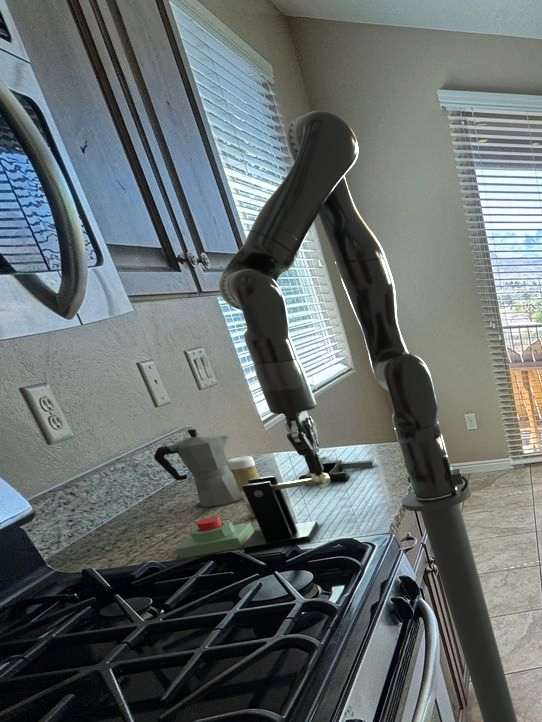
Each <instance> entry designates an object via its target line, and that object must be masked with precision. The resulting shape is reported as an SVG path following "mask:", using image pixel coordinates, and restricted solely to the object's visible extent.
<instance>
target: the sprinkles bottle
mask: <svg viewBox="0 0 542 722" xmlns="http://www.w3.org/2000/svg"><path fill="white" fill-rule="evenodd" d="M226 462H227V468H228V470H230V472H231V473H232V477H233V478H234V480H235V481H236V484H237V486H238V488H239V491H240V493H241V495H242V497H243V498H242V499H243V502H244V504H245V505H246V507H247V510H248V512H249V516H250V517H251V518H255V515H254V513H253V511H252V508H251V506H250V504H249V502H248V499H247V497H246V495H245V493H244V490H243V488H242V486H243V485H248V484H249V482H248V480H249V479H254V478H261V477H260V474H259V472H258V470H257V467H256V463H255V461H254V458H253V457H252V456H250V455H243V456H237V457H233V458H230V459H227V460H226ZM255 519H256V518H255Z"/></svg>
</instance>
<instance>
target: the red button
mask: <svg viewBox="0 0 542 722" xmlns="http://www.w3.org/2000/svg"><path fill="white" fill-rule="evenodd" d="M221 521H222V520H221V519H220V517H217V516H213V517H207V518H203V519H201V520H198V521H197V522H196V523H195V524H196V527H198V528H199V530H200V531H208V530H213V529H216V528H219V527H221V526H222V523H221Z"/></svg>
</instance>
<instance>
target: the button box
mask: <svg viewBox="0 0 542 722" xmlns="http://www.w3.org/2000/svg"><path fill="white" fill-rule="evenodd" d="M220 521H221V523H222V526H221V527H219V528H216V529H213V530H208V531H200V530H199V528H198V526H195V527H193V528H191V530H189V535H188V536H186V537H185V539H184V540H183V541H182V542H181V543H179V545H178V546H176V547H175V551H176V553H177V555H178V557H179V559H180V560H181V559H188V558H193V557H198V556H204V555H208V554H215V553H220V552H226V551H231V550H236V549H243V547H244V546H245V545H246V543H247V542H248V541H249V539H250V538H251V537H252V535H253V534H254V533H255V530H254V527H253V525H252V523H251V522H244V523H239V524H233V522H232V521H231V520H220Z"/></svg>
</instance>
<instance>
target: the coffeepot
mask: <svg viewBox="0 0 542 722" xmlns="http://www.w3.org/2000/svg"><path fill="white" fill-rule="evenodd" d="M187 433H188V434H189V435H190V437H188V438H185V439H183V440H181V441H178V442H175V443H173V444H170V445H169V444H168V445H164V446H159V447H157V448H156V451H155V453H154V455H153V458H154V460H155V462H157V464H159V465H160V466H161V468H163V469H164V470H165V471H166V472H167V473H168V474H169V475H170V476H171V477H172V478H173V479H175V481H183V480H186V479H188V475H187V474H184V475H180V473H179V471H177V469H176V468H175V467H173V466H172V464H171V463H170V461H169V460H168V459H167V458H166V457H165V456H166V455H174V454H177V455H178V456H179V458H180V459H181V461H182V462H183V464H184V465H185V466H186V468H187V469H188V471H189V472H190V473H191V474H192V476H193V480H194V484H195V488H196V492H197V496H198V500H199V503H200V506H201V507H205V508H209V507H211V508H212V507H218V506H219V507H220V506H225V505H228V504H232V503H235V502H238V501H240V500H242V499H243V497H242V495H241V493H240V491H239V488H238V486H237V484H236V480H235V478H234V476H233V474H231V471H229V470H230V469H229V467H228V464H227V458H226V454H225V449H226V448H225V447H226V444H227V440H228V439H229V438H230V437H229V436H228V435H208V436H207V435H198V434H197V430H196V428H194V429H193V428H190V429H188V430H187Z"/></svg>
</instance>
